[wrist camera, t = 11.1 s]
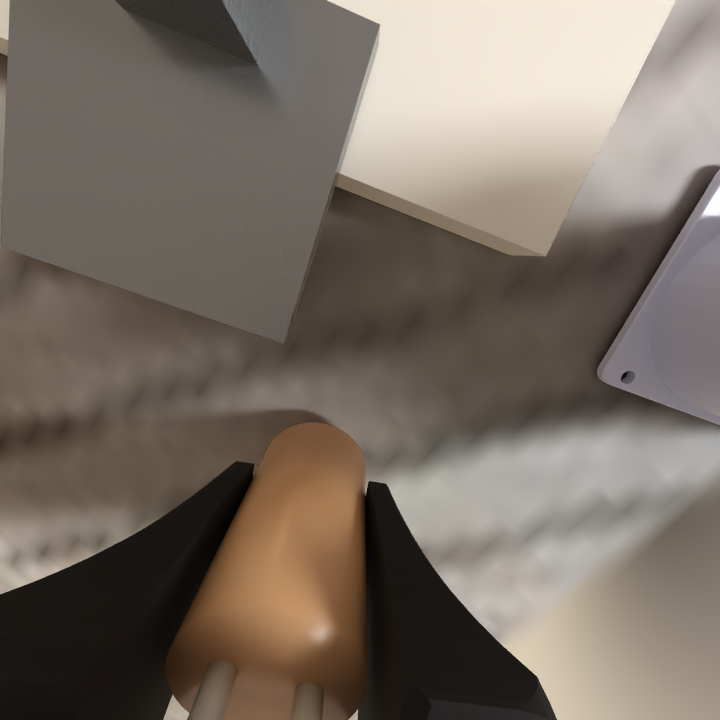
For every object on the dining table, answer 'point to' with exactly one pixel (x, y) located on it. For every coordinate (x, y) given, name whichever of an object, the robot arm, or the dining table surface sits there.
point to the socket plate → (489, 108)
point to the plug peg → (283, 592)
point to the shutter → (182, 145)
